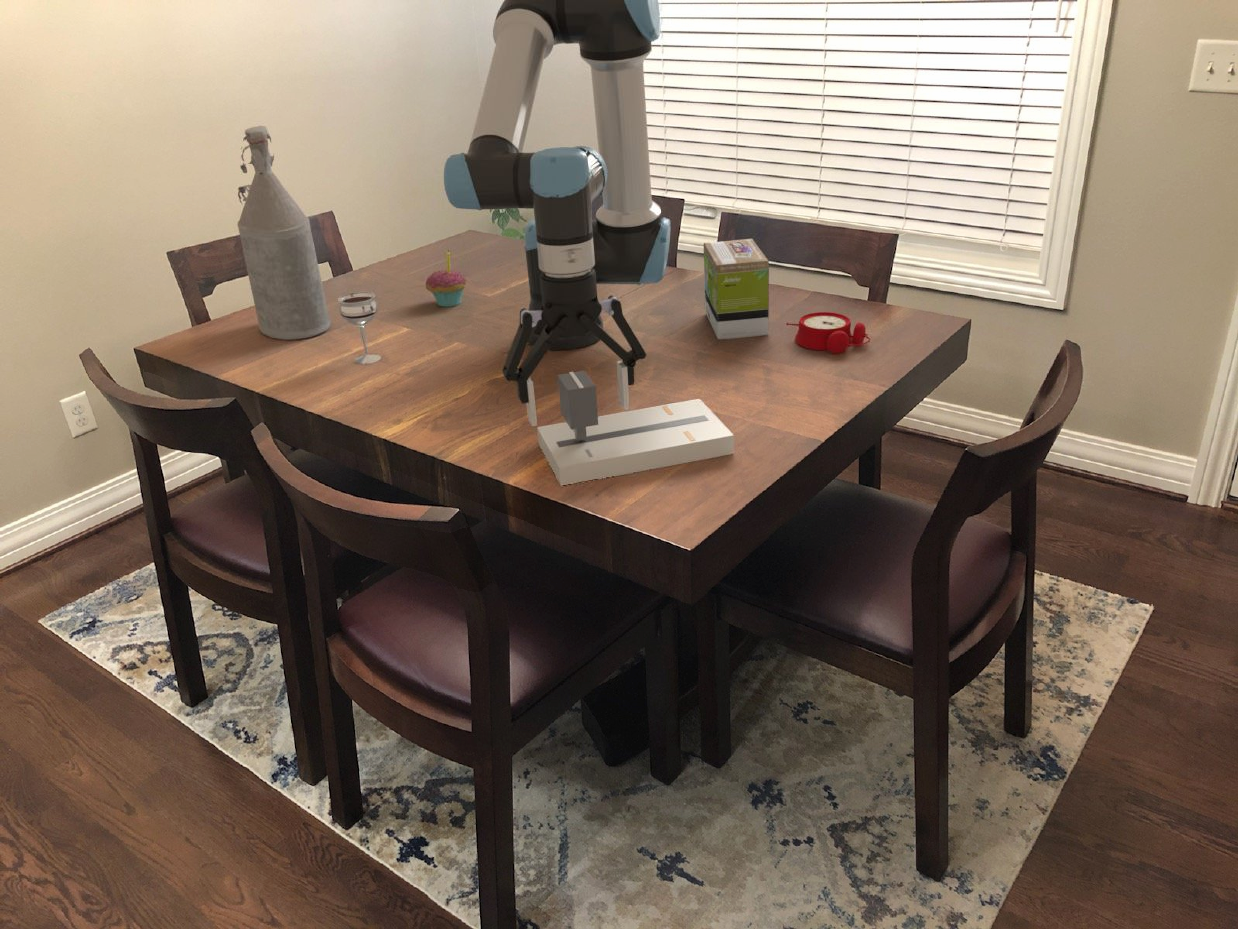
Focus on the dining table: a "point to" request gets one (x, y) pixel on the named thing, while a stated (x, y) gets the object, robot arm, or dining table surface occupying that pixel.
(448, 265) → the cupcake
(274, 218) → the stoneware bottle
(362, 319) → the wineglass
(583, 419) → the fader knob
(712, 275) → the tea box
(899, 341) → the dining table surface
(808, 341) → the alarm clock
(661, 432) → the console
